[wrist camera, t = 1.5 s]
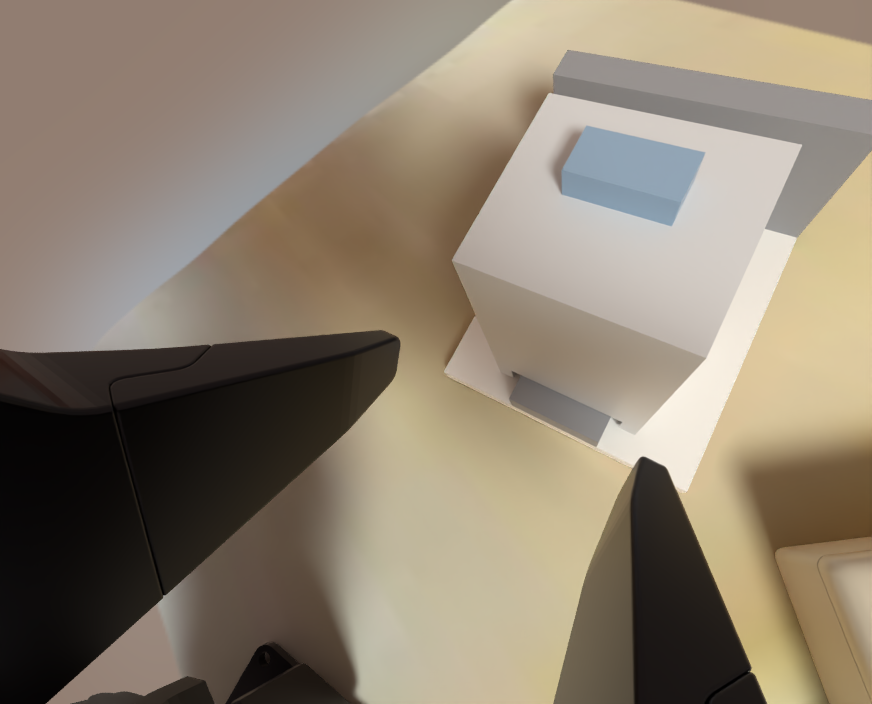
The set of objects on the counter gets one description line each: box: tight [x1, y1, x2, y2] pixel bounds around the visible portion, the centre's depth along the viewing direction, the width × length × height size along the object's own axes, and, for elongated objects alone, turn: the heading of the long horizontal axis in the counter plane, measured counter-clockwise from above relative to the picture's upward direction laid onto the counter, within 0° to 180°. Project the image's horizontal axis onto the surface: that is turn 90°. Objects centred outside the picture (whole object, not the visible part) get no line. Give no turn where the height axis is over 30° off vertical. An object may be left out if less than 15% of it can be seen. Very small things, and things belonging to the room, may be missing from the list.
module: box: [452, 93, 802, 435], centre depth 14 cm, size 5×6×10 cm
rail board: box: [444, 50, 872, 493], centre depth 17 cm, size 12×10×6 cm
